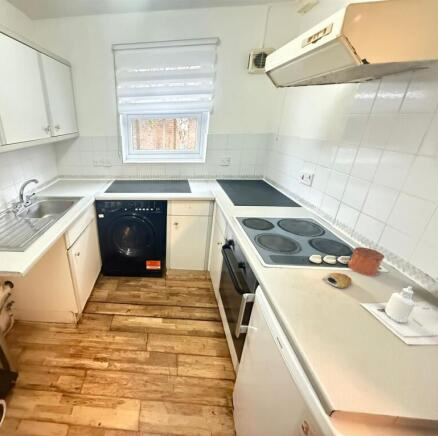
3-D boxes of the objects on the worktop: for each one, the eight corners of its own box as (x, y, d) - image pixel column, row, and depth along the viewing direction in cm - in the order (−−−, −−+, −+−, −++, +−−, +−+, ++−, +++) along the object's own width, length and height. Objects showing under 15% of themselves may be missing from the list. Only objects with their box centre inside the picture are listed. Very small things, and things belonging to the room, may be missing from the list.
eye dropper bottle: (400, 313, 78) (417, 284, 74) (406, 325, 74) (423, 294, 69) (383, 308, 81) (397, 279, 76) (387, 319, 76) (403, 289, 72)
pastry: (338, 275, 98) (341, 267, 96) (355, 285, 92) (359, 277, 90) (321, 280, 95) (324, 272, 93) (339, 290, 89) (342, 282, 88)
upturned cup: (372, 265, 104) (379, 250, 101) (381, 278, 96) (389, 261, 93) (345, 260, 108) (351, 245, 105) (351, 272, 100) (357, 255, 97)
